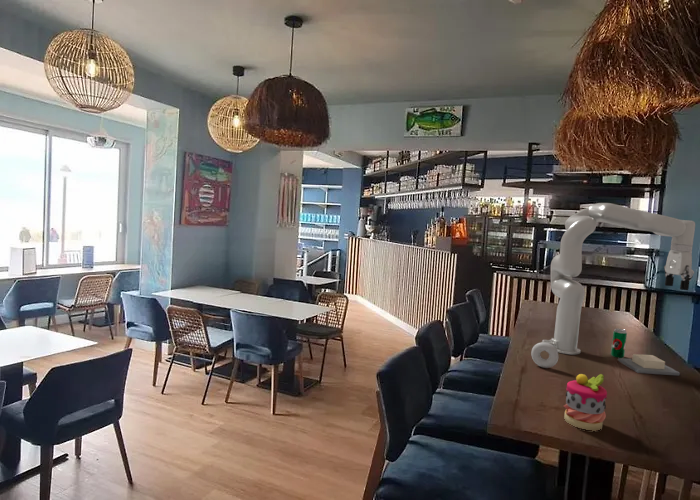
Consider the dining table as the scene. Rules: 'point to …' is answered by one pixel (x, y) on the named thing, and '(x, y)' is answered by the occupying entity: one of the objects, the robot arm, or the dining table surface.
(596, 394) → the cake
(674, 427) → the dining table surface
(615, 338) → the soda can
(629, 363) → the build base
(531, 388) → the dining table surface
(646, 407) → the dining table surface
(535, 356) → the donut
